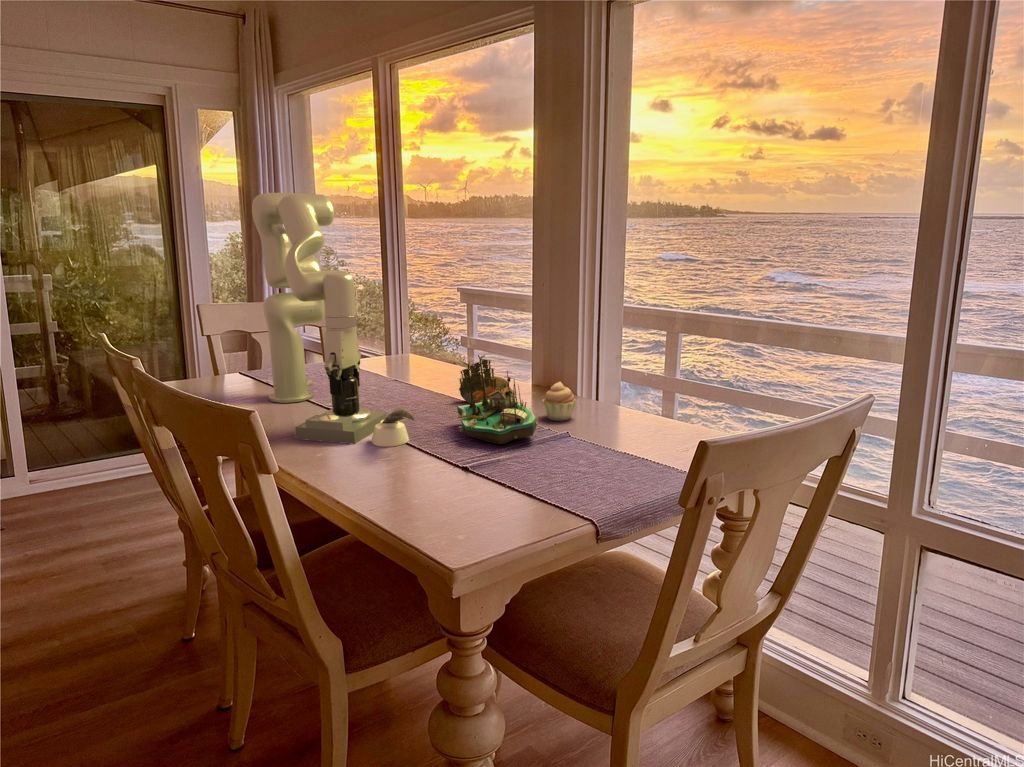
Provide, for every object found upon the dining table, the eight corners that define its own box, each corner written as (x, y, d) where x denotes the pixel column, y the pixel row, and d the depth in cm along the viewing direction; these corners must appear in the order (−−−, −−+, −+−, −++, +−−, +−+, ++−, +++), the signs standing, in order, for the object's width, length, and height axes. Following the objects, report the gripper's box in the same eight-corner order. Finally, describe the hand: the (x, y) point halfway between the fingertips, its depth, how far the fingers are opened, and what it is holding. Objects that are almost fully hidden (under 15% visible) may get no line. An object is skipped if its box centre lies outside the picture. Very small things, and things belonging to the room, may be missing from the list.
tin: (459, 402, 211) (459, 374, 209) (464, 400, 213) (463, 372, 212) (507, 407, 205) (507, 378, 203) (511, 404, 208) (511, 376, 206)
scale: (332, 419, 194) (331, 399, 193) (387, 423, 190) (386, 403, 189) (296, 438, 177) (294, 417, 176) (354, 443, 173) (353, 421, 172)
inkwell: (397, 433, 181) (396, 394, 179) (435, 450, 167) (434, 409, 165) (364, 440, 176) (362, 400, 173) (400, 459, 162) (398, 416, 159)
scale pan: (337, 409, 192) (337, 405, 192) (378, 412, 189) (378, 408, 189) (314, 421, 181) (313, 417, 181) (357, 424, 178) (357, 420, 178)
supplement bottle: (353, 416, 181) (349, 370, 178) (328, 415, 182) (324, 369, 180) (364, 409, 188) (360, 364, 185) (339, 408, 189) (336, 363, 186)
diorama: (504, 414, 195) (497, 346, 190) (553, 439, 174) (546, 363, 168) (440, 431, 187) (431, 360, 182) (483, 460, 166) (474, 380, 160)
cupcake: (583, 417, 194) (584, 381, 191) (561, 424, 187) (562, 387, 185) (557, 411, 200) (557, 376, 198) (534, 418, 193) (534, 382, 191)
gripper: (344, 317, 189) (348, 382, 193) (309, 327, 172) (314, 397, 176) (370, 318, 187) (374, 383, 191) (337, 328, 170) (342, 399, 174)
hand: (345, 390), depth 184 cm, fingers open, 8 cm apart
